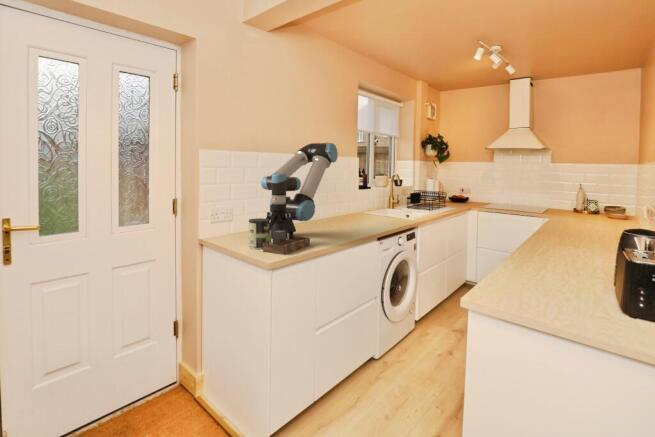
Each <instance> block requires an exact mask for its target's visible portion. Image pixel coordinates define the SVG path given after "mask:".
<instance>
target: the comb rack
mask: <svg viewBox="0 0 655 437" xmlns="http://www.w3.org/2000/svg"><path fill="white" fill-rule="evenodd" d="M310 242H311V237H304V236H303V237H302V236H295V235H293V239H292V240H287V238H286V239H280V245H274V244H273V243H272V244H271V243H270V244H267V243H263V249H262V251H263V252H264V253H271V254H277V255H283V256H284V255H286V254H289V253H293V252H295V251H299V250H301V249H304V248H307V247H309V246H311V243H310Z"/></svg>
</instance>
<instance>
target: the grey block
mask: <svg viewBox="0 0 655 437" xmlns="http://www.w3.org/2000/svg"><path fill="white" fill-rule="evenodd" d="M280 239H287V238H286V231H282V230H278V231H274V232H273V238H272V244H274V245H280Z"/></svg>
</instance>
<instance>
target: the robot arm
mask: <svg viewBox="0 0 655 437" xmlns="http://www.w3.org/2000/svg"><path fill="white" fill-rule="evenodd" d="M338 157H339V156H338V148H337V146H336V145H335V143H332V142H322V143H321V142H317V143H316V142H315V143H314V142H313V143H312V142H311V143H308V144H306V145H304V146H302V147H301V148H299V149H298V150H297V151H295V153H294V155H293V156H292V157H291V158H290V159H289V160H288V161H286V163H284V164H283V165H282V166H280V167H279V168H278V169H277V170H276V171H274V172H273V173H272V174H270V176H269V175H268V176H266V175H265V176H263V177H262V178H261V182H260V184H261V188H262V189H263V190H268V191H271V199H270V201H269V202H270V204H269V211H267V212H266V217H265V219H269V220H270V221H269V232H270V244H271V243H272V239H273V232H274V231H278V230H282V231H286V239H287V240H292V239H293V236H294V233H296V232H297V229H296V226H295V224H294V221H299V222H308V221H310V220H311V219H312V218H313V217H314V215H315V212H316V205H315V200H314V197H315V195H316V193H317V191H318V189H319V185H320V184H321V181H322V179H323V176H324V174H325V172H326V169H329V168H330V166H331V164H332V163H336V162H337V160H338ZM309 163H312V164H311V166H310V167H309V170H308V173H307V174H306V177H305V179H304V182H303V184H302V182H301V179H300V178H298V177H297V176H292V175H294V173H296V172H297V171H298V170H299V169H300V168H302V167H303V166H306V165H307V164H309ZM295 191H299V192H298V193H296V194H295V195H294V197H293V199H291V196H287V192H295Z"/></svg>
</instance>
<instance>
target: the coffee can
mask: <svg viewBox="0 0 655 437" xmlns="http://www.w3.org/2000/svg"><path fill="white" fill-rule="evenodd" d="M269 221H270V220H269V219H266V218H264V217H263V218H260V217H259V218H251V219H248V230H249V231H248V235H249V236H248V238H249V249H253V250H263V243H267V244H271V243H270V232H269V223H270V222H269Z"/></svg>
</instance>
